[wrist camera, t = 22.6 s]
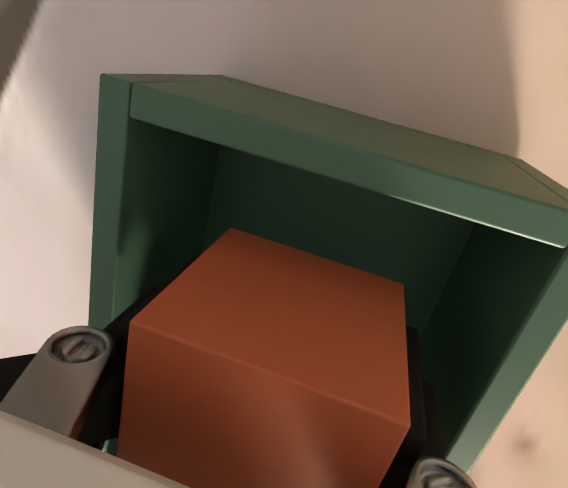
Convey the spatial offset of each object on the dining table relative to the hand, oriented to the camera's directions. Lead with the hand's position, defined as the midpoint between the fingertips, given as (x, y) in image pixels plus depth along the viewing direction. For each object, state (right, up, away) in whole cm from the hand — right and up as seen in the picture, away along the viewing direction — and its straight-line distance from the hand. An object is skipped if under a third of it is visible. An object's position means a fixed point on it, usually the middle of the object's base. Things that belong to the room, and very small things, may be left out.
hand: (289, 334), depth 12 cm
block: (0, 0, 0) cm, 0 cm away
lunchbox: (+1, +1, +7) cm, 7 cm away
